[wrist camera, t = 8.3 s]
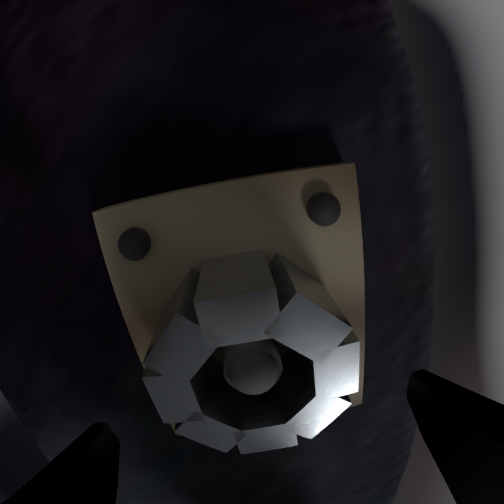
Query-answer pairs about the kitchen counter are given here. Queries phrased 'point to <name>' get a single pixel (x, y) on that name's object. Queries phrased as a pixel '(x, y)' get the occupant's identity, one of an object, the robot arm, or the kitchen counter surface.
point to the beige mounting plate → (238, 241)
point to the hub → (242, 331)
